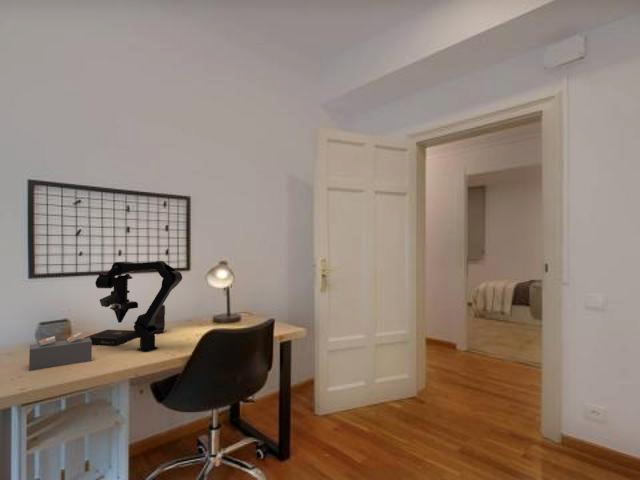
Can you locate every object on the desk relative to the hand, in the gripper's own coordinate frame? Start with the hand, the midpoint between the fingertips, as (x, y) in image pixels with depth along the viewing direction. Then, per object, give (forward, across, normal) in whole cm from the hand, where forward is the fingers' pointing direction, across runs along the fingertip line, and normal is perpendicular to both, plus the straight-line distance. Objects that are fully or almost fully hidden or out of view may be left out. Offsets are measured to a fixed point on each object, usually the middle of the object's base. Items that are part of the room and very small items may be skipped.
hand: (119, 322), depth 166 cm
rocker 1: (+2, -2, -28) cm, 28 cm away
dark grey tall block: (+12, -12, +28) cm, 33 cm away
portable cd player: (+13, -16, +6) cm, 21 cm away
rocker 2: (+2, +2, -20) cm, 20 cm away
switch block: (+12, 0, -24) cm, 27 cm away
